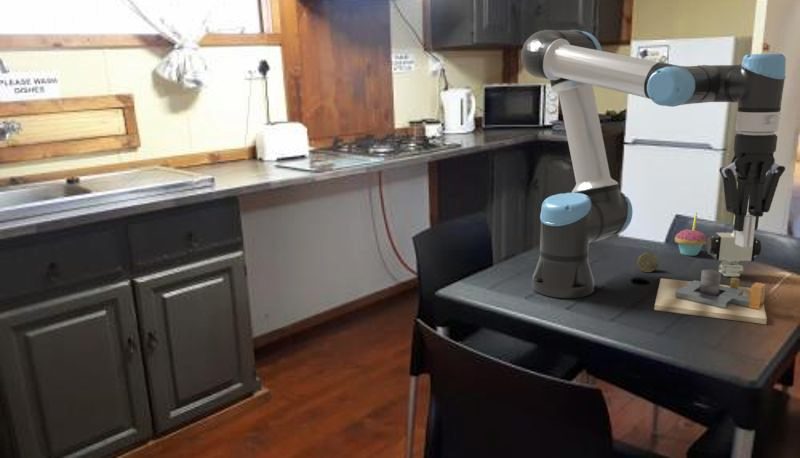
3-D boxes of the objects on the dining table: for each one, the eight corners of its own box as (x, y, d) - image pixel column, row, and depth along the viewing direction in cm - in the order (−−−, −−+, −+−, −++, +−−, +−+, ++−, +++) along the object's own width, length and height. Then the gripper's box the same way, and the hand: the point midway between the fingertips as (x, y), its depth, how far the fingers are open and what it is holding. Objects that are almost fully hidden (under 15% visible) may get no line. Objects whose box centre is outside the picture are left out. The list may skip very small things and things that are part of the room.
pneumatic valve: (757, 279, 158) (763, 233, 155) (708, 277, 161) (712, 232, 158) (750, 272, 164) (755, 228, 161) (702, 270, 166) (707, 227, 163)
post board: (654, 309, 140) (656, 279, 138) (660, 282, 158) (662, 255, 156) (766, 324, 131) (770, 292, 129) (759, 293, 148) (763, 265, 146)
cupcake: (682, 247, 187) (685, 209, 184) (711, 253, 181) (714, 213, 178) (668, 253, 182) (671, 213, 179) (696, 259, 175) (700, 218, 172)
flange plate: (675, 296, 144) (677, 276, 143) (693, 284, 151) (695, 265, 150) (752, 314, 132) (755, 292, 131) (769, 300, 140) (771, 279, 139)
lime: (659, 271, 166) (661, 254, 165) (645, 274, 164) (646, 256, 163) (647, 267, 170) (648, 249, 169) (633, 269, 168) (634, 252, 167)
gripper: (736, 136, 120) (724, 252, 126) (801, 133, 122) (786, 248, 128) (713, 132, 128) (702, 242, 133) (775, 130, 129) (761, 239, 135)
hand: (743, 245), depth 130 cm, fingers closed
